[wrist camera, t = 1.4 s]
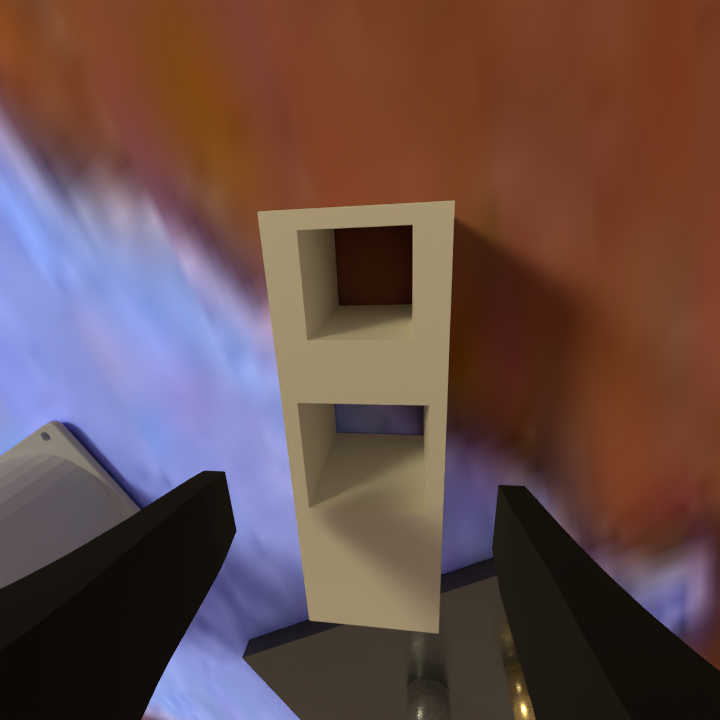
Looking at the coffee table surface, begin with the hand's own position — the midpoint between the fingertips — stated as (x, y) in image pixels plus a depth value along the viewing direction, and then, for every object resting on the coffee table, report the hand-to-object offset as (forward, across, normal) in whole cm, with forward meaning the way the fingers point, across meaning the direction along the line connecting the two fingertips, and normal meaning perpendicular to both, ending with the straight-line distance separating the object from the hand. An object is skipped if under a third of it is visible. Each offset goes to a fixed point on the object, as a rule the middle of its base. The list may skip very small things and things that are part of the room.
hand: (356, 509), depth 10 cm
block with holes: (+7, 0, 0) cm, 7 cm away
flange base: (+7, -2, +18) cm, 20 cm away
